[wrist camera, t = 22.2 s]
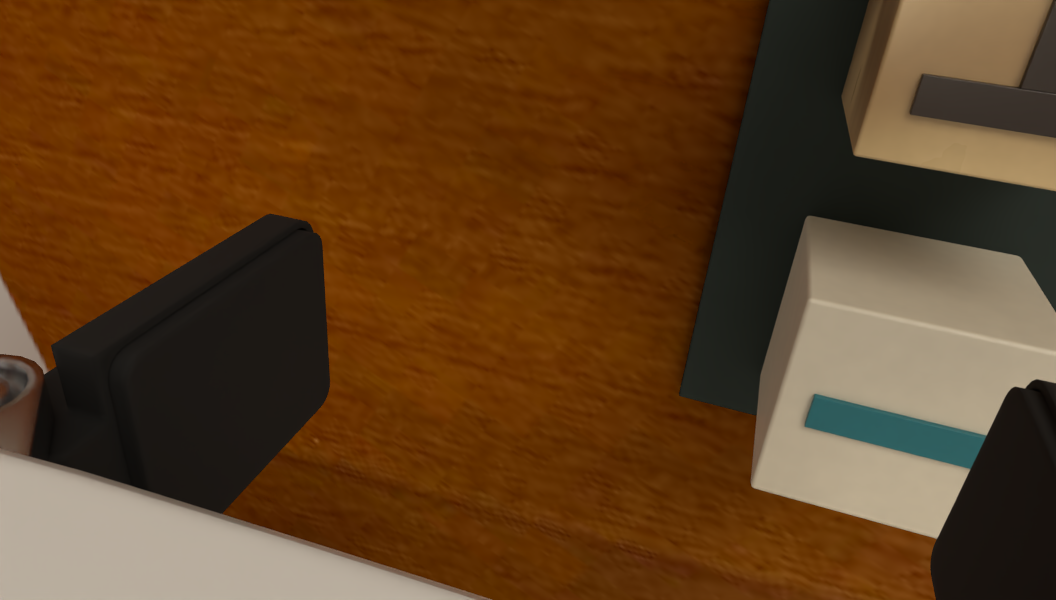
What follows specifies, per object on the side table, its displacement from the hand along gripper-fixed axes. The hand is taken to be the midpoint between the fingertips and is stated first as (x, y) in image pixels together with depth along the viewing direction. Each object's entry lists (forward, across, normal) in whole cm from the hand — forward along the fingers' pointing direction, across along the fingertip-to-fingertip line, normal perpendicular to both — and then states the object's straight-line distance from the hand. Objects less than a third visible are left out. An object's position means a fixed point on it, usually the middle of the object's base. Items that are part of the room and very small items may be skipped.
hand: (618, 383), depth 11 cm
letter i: (+8, -5, +2) cm, 10 cm away
